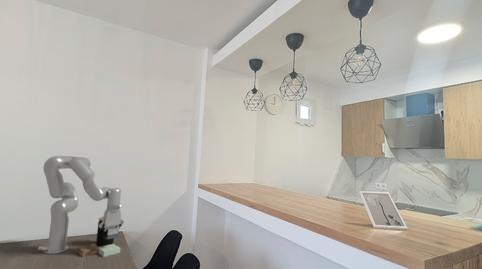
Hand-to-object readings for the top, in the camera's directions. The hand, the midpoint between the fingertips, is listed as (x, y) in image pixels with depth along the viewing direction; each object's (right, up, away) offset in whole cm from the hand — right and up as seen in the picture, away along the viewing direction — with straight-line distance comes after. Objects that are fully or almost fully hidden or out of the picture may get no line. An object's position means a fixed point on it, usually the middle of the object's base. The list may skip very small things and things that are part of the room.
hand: (110, 235), depth 163 cm
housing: (0, -1, 0) cm, 1 cm away
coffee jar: (-10, -11, +12) cm, 20 cm away
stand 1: (-13, -9, -3) cm, 16 cm away
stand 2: (-1, -10, -1) cm, 10 cm away
